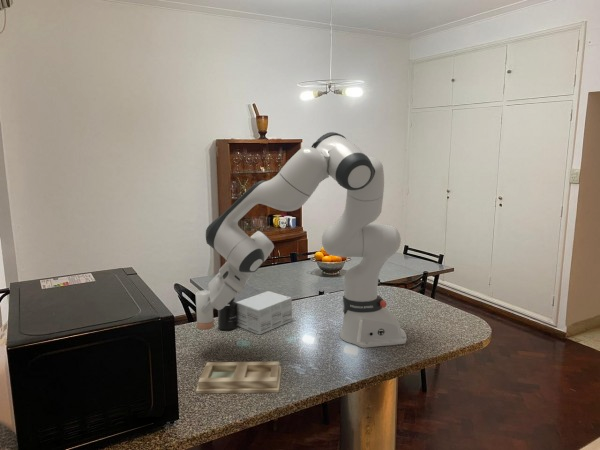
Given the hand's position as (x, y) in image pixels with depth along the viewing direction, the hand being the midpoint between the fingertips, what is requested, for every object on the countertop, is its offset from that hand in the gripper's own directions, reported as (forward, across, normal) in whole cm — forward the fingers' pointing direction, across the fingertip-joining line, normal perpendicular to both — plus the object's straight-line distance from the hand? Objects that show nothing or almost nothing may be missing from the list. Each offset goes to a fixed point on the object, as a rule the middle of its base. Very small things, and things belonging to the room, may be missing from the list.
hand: (202, 308), depth 137 cm
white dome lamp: (+4, 0, +5) cm, 6 cm away
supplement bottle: (+5, -20, +17) cm, 27 cm away
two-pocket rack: (+4, +20, +17) cm, 26 cm away
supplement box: (-4, -20, +27) cm, 34 cm away
